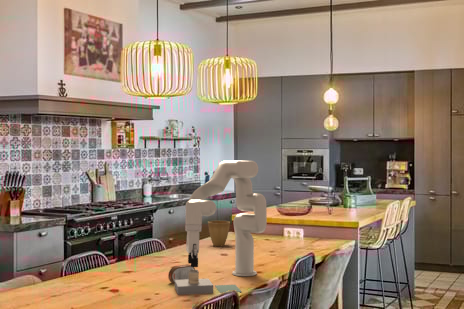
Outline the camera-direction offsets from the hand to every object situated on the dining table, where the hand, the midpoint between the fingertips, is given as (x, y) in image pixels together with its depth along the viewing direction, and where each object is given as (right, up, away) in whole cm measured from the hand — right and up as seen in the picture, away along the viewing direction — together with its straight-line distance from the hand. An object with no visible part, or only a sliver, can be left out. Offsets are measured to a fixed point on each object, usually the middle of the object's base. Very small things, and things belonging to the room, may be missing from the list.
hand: (192, 265), depth 280 cm
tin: (-6, -12, +19) cm, 23 cm away
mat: (+16, -12, +4) cm, 20 cm away
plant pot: (+9, -11, +130) cm, 131 cm away
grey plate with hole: (0, -12, +1) cm, 12 cm away
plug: (0, -12, +1) cm, 12 cm away
